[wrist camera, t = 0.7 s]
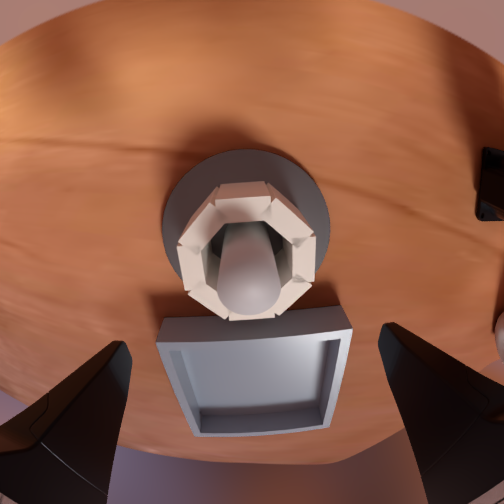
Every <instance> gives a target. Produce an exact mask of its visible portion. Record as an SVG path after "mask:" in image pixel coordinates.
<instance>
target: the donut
mask: <svg viewBox="0 0 504 504" xmlns="http://www.w3.org/2000/svg"><path fill="white" fill-rule="evenodd" d="M495 341H496V346H497V350H498V353H499V356H500V358H501V360H502V362H503V364H504V312H503V313H502V314H501V315H500V316H499V318H498V320H497V323H496V326H495Z"/></svg>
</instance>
